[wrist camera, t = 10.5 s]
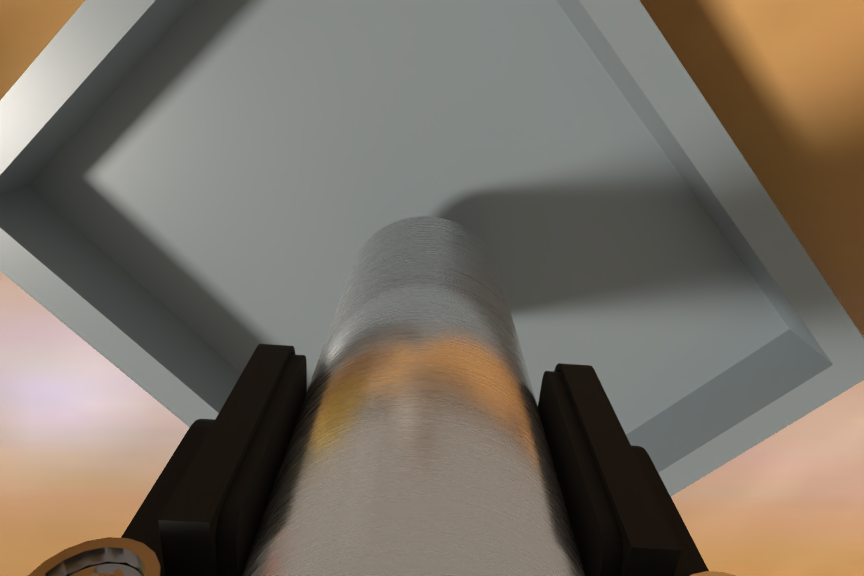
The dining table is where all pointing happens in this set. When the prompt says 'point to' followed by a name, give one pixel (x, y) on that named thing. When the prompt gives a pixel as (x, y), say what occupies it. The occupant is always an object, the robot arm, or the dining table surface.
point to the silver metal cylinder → (418, 429)
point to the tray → (413, 201)
